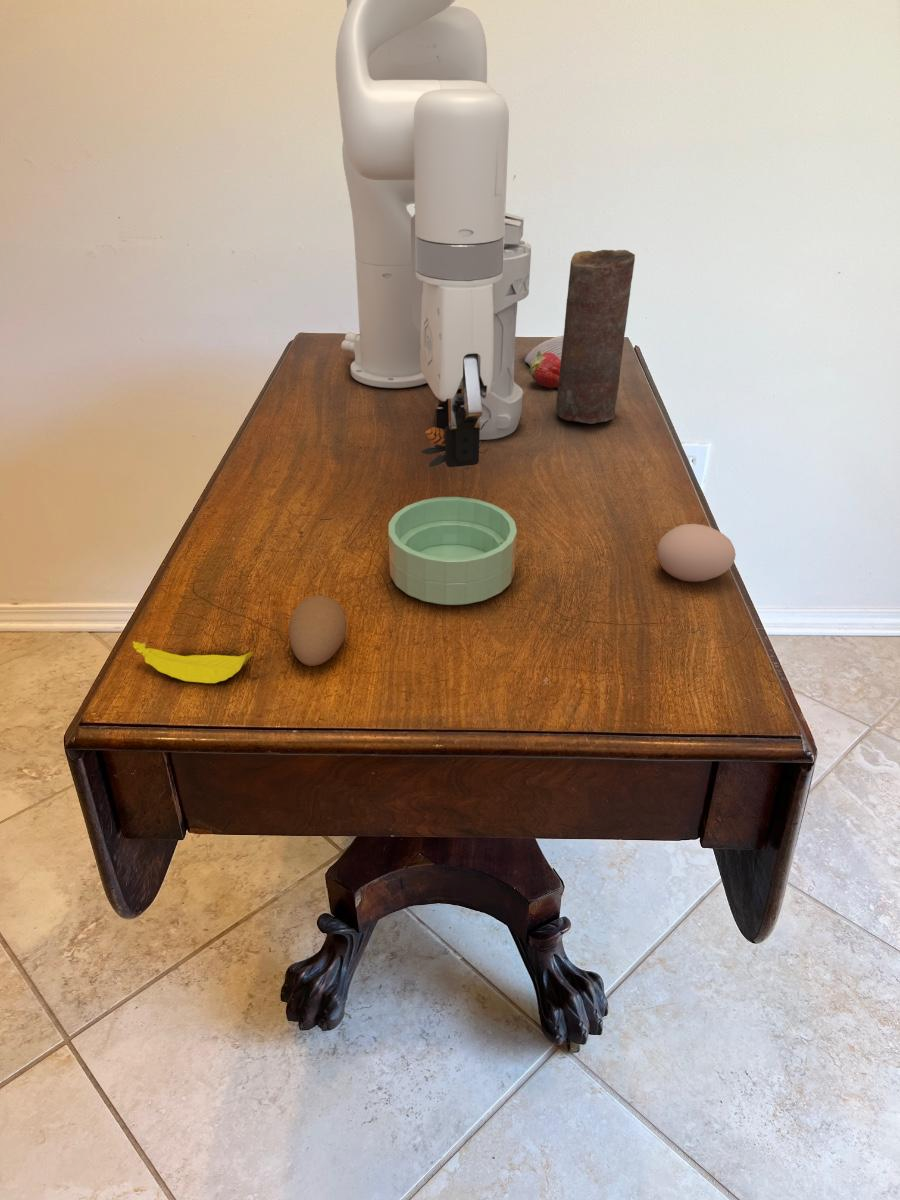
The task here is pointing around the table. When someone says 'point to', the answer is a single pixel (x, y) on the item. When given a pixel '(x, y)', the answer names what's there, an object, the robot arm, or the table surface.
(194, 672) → the yellow banana
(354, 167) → the robot arm
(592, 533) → the table surface
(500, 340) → the lantern
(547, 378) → the fruit
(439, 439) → the insect
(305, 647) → the egg
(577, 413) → the candle
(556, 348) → the seashell
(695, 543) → the egg
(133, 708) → the table surface
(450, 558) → the bowl
